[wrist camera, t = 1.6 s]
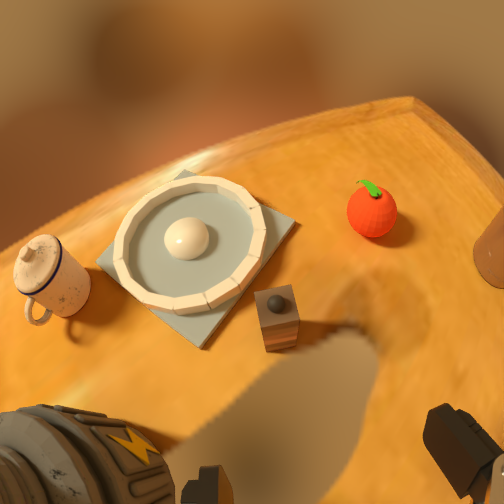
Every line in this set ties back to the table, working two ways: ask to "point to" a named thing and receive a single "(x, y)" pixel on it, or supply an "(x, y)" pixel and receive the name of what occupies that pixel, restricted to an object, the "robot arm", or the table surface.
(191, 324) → the groove dish
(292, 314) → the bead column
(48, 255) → the teacup with lid
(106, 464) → the decorative lamp
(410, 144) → the table surface
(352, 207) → the clementine
